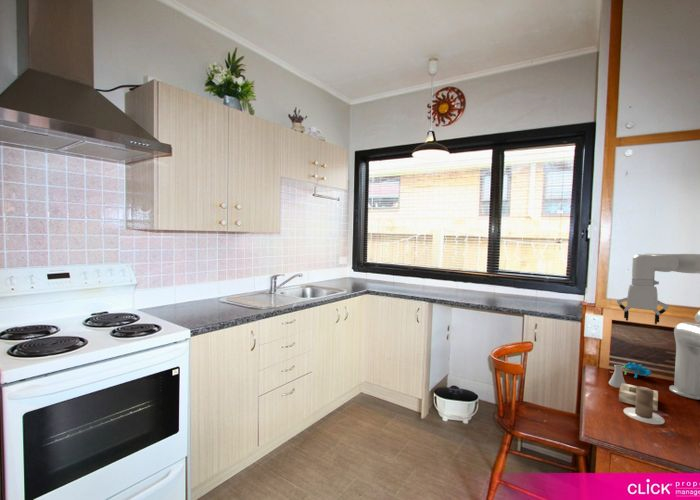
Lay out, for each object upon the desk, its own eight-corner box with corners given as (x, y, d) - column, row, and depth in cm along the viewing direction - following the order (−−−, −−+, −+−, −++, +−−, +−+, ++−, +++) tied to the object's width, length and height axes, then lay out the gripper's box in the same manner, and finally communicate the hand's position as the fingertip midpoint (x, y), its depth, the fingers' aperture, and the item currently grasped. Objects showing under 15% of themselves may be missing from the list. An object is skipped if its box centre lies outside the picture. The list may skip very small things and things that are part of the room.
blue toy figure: (655, 375, 171) (646, 363, 168) (652, 386, 169) (643, 373, 166) (628, 371, 181) (620, 359, 178) (625, 380, 179) (616, 369, 176)
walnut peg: (644, 411, 136) (645, 386, 135) (655, 418, 131) (657, 392, 130) (631, 411, 135) (633, 386, 135) (643, 418, 130) (644, 392, 130)
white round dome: (644, 410, 139) (644, 407, 139) (673, 426, 127) (673, 423, 127) (615, 410, 139) (615, 407, 139) (642, 427, 127) (642, 423, 127)
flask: (620, 384, 164) (621, 363, 164) (631, 391, 157) (632, 369, 156) (604, 383, 165) (605, 362, 164) (614, 390, 157) (615, 368, 157)
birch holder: (657, 402, 146) (658, 391, 146) (657, 413, 137) (657, 400, 137) (621, 393, 154) (621, 382, 154) (618, 403, 145) (619, 391, 145)
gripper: (669, 284, 149) (667, 323, 150) (618, 280, 160) (616, 317, 161) (670, 285, 143) (668, 327, 144) (617, 281, 155) (615, 320, 155)
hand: (641, 321), depth 152 cm, fingers open, 9 cm apart
